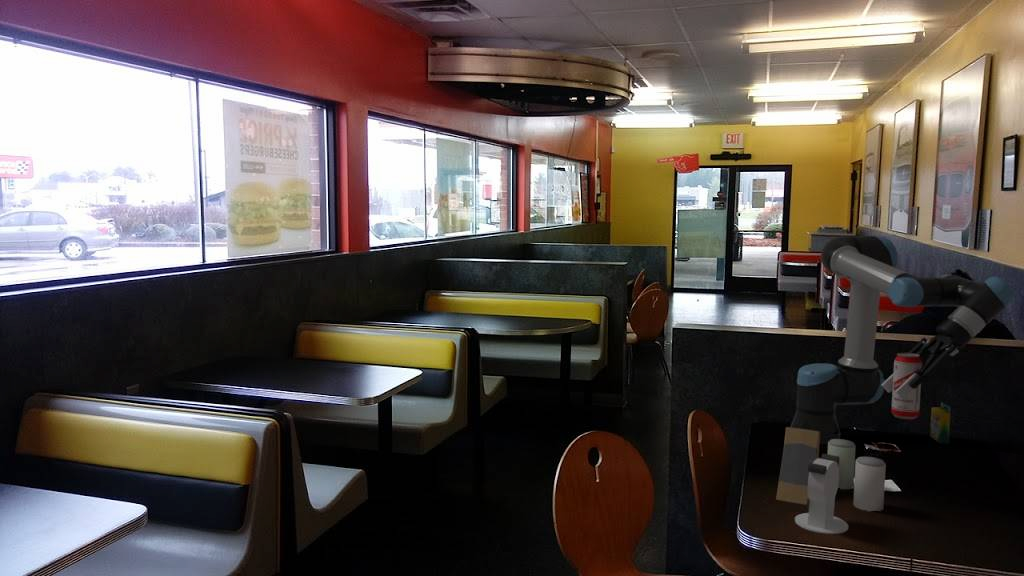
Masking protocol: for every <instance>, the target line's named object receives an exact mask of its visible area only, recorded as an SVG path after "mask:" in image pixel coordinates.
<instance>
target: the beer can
mask: <svg viewBox="0 0 1024 576" xmlns="http://www.w3.org/2000/svg"><path fill="white" fill-rule="evenodd" d="M893 360H894V361H893V373H894V374H893V373H892V374H893V390H892V391H891V393H892V394H891V395H892V396H891V411H890V412H891V414H892V415H893V416H894V417H895V418H897V419H902V420H915V419H917V418H918V417H919V415H920V408H921V407H920V405H921V386H922V385H921V384H922V383H921V384H920V385H919V386H918V387H917V388H915V389H914V390H913V391H912V392H911V393H910V394H909V395H908V396H907V397H906V398H905V399H902V398H901V397H900V396H899V395H898V394H897V392H896V390H897V389H898V388H899V387H900V386H901V385H902V384H903V383H904V382H905V381H906V380H907V379H908V378H910V377H911V376H912V375H913V374H914V373H916V371H917V370H920V369H921V368H922V366H923V363H922V361H921V359H920V355H918V354H913V353H908V352H898V353H896V357H895V359H893ZM916 374H917V373H916ZM917 375H918V374H917Z"/></svg>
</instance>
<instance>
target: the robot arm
mask: <svg viewBox="0 0 1024 576" xmlns="http://www.w3.org/2000/svg"><path fill="white" fill-rule="evenodd" d="M898 255H899V254H898V251H897V248H896V245H894V243H893V241H891V240H890V239H889V238H888V237H886V236H885V237H884V236H877V235H876V236H875V235H853V236H852V235H849V236H848V235H842V236H836V237H833V238H832V239H830V240H829V241H828V242H826V243H825V245H824V246H823V248H822V250H821V252H820V261H821V264H822V266H823V267H824V268H825V269H826V270H827V271H828V272H829V273H831V274H833V275H836V276H838V277H840V278H841V277H843V278H844V277H845V278H846V280H847V281H849V282H850V291H849V300H848V302H849V303H848V309H847V310H848V312H847V323H846V331H845V333H846V334H845V342H844V354H843V356H842V357H841V358H839V359H838V362H837V365H835V364H832V363H827V362H826V363H819V362H818V363H811V364H806V365H803V366H801V367H800V368H799V369H798V372H797V379H796V385H797V386H796V404H795V405H796V409H795V414H794V416H793V420H792V421H791V425H790V426H789V427H790V428H798V429H806V430H812V431H819V432H820V442H819V445H828V442H829V441H830V440H831V439H841V431H840V427H839V425H838V420H837V417H836V406H843V405H845V406H846V405H847V406H849V405H858V406H859V405H860V406H861V405H862V406H863V405H868V404H874V403H875V402H877V401H878V400H879V399H881V397H882V395H883V393H884V392H885V391H886V392H887V393H889V394H890V393H892V391H893V374H894V372H893V373H892V374H891V375H890V376H889V377H888V378H887V379H885V378H884V374H883V372H882V371H881V369H879V368H878V367H879V365H878V363H877V362H876V361H875V360H874V354H875V347H876V346H875V344H876V338H877V328H878V327H877V325H878V317H879V316H878V315H879V308H880V298H881V293H883V294H884V295H887V296H888V297H889V300H890V301H891V302H892V304H893V305H894V306H896V307H903V308H904V307H905V308H915V307H916V308H917V307H957V308H956V309H954V310H953V312H951V313H950V314H949V315H948V316H947V318H945V319H944V320H943V321H942V322H941V323H940V324H939V325H938V326H937V327H936V328H935V330H936V335H935V336H933V337H931V338H930V339H927V338H926V337H922V338H921V339H920V341H919V342H918V343H917V344H916V345H915V346H913V347H912V348H911V349H910V350H909V351H908V352H907V353H913V354H918V355H920V359H921V361H922V368H921V369H920V370H917V371H916V373H917V374H918V375H917V374H916V373H914V374H913V375H912V376H911V377H910V378H908V379H907V380H906V381H905V382H904V383H903V384H902V385H901V386H900V387H899V388H898V389H897V390H896V392H897V394H898V395H899V396H900V397H901V398H902V399H905V398H906V397H907V396H908V395H909V394H910V393H911V392H912V391H913V390H914V389H915V388H917V387H918V386H919V385H920V384H922V383H924V382H927V381H928V380H929V381H930V382H932V381H934V380H935V379H936V378H937V377H938V376H939V375H940V374H941V373H942V371H944V370H945V369H946V368H947V367H948V366H949V364H951V362H952V361H953V360H954V359H956V358H957V357H959V356H960V355H961V352H960V351H959V349H963V348H964V347H965V346H966V345H967V344H968V343H969V342H971V340H972V338H974V337H976V336H977V334H979V333H981V331H982V330H983V329H984V328H985V327H986V326H987V325H988V324H989V323H990V322H992V320H993V319H995V318H996V317H997V316H998V315H999V314H1000V313H1002V312H1003V310H1005V309H1006V308H1007V307H1008V306H1009V304H1010V303H1012V301H1013V300H1014V299H1015V297H1016V291H1015V289H1014V288H1013V287H1012V285H1011V284H1010V283H1009V282H1007V281H1006V280H1004V279H1003V278H1001V277H998V276H991V277H988V278H987V279H986V280H984V281H983V282H977V281H974V280H971V279H968V278H965V277H961V276H960V275H952V274H943V275H940V276H939V277H919V276H916V275H913V274H912V273H911V274H910V273H908V272H906V271H904V270H902V269H899V268H897V266H898V262H899V256H898ZM884 390H885V391H884Z"/></svg>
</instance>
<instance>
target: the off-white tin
mask: <svg viewBox="0 0 1024 576" xmlns="http://www.w3.org/2000/svg"><path fill="white" fill-rule="evenodd" d="M886 467H887V465H886V463H885V461H884V460H883V459H881V458H878V457H872V456H859V457H857V458H855V466H854V485H853V506H854V507H855V508H856V509H859V510H861V511H865V510H866V512H871V511H879V512H882V511H883V510H884V504H885V503H884V501H885V499H884V498H885V484H886ZM881 510H882V511H881Z"/></svg>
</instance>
